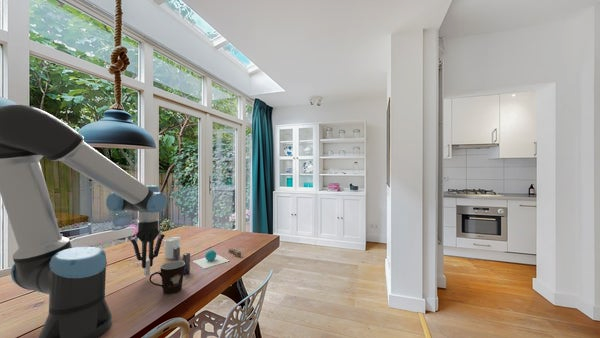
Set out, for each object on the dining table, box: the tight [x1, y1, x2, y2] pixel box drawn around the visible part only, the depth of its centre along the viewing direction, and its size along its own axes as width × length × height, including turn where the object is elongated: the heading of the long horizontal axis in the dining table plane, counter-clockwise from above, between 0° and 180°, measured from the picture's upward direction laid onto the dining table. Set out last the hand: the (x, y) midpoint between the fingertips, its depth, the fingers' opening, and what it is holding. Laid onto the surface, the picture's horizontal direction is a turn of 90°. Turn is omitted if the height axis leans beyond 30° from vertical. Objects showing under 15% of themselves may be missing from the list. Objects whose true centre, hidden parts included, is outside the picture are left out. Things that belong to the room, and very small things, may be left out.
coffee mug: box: [148, 260, 185, 295], centre depth 90 cm, size 12×9×10 cm
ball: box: [204, 249, 217, 261], centre depth 123 cm, size 6×6×6 cm
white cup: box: [163, 236, 181, 260], centre depth 128 cm, size 8×8×10 cm
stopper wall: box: [228, 248, 242, 258], centre depth 132 cm, size 10×2×2 cm, turn 47°
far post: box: [172, 246, 181, 261], centre depth 115 cm, size 3×3×9 cm
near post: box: [182, 252, 191, 276], centre depth 106 cm, size 3×3×9 cm
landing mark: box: [192, 254, 230, 270], centre depth 121 cm, size 14×14×1 cm
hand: (146, 274), depth 100 cm, fingers closed
